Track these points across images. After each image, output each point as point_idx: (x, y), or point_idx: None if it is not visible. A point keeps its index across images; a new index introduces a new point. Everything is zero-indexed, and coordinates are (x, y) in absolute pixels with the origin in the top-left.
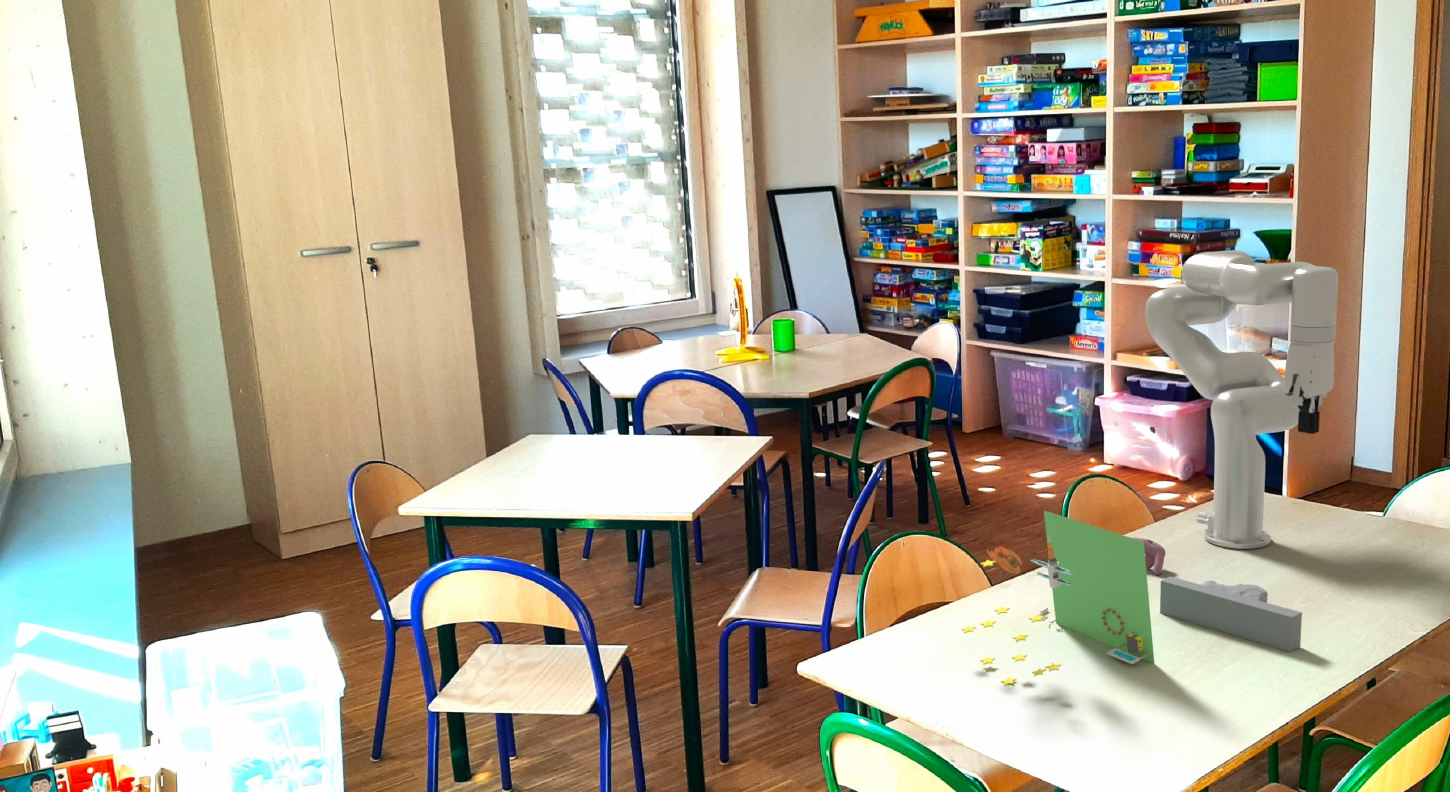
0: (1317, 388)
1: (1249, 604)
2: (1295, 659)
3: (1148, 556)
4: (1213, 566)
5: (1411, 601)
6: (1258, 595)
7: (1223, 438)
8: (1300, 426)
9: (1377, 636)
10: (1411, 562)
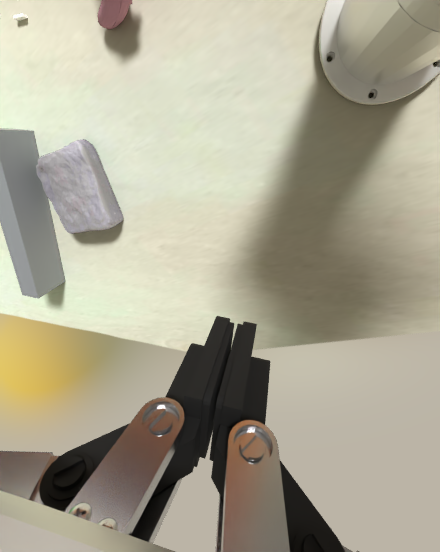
0: None
1: (11, 252)
2: None
3: None
4: (207, 83)
5: None
6: (81, 229)
7: None
8: (190, 345)
9: (133, 323)
10: (387, 310)
